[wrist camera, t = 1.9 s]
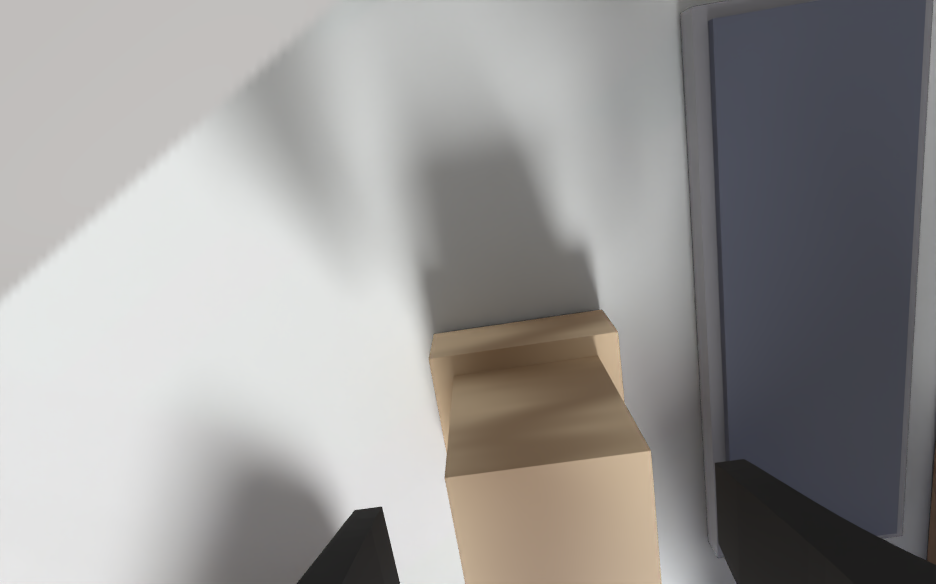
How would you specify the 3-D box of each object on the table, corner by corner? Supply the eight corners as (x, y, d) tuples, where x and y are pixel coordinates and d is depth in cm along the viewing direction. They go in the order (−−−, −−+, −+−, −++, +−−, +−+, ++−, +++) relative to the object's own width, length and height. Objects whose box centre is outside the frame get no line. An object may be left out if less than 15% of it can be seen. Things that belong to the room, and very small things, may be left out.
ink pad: (911, -27, 15) (945, -40, 14) (885, 519, 19) (909, 542, 18) (680, 12, 15) (695, 4, 14) (708, 541, 20) (721, 564, 18)
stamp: (599, 306, 17) (680, 418, 10) (614, 453, 19) (694, 636, 12) (434, 330, 18) (408, 455, 11) (460, 473, 19) (453, 663, 12)
